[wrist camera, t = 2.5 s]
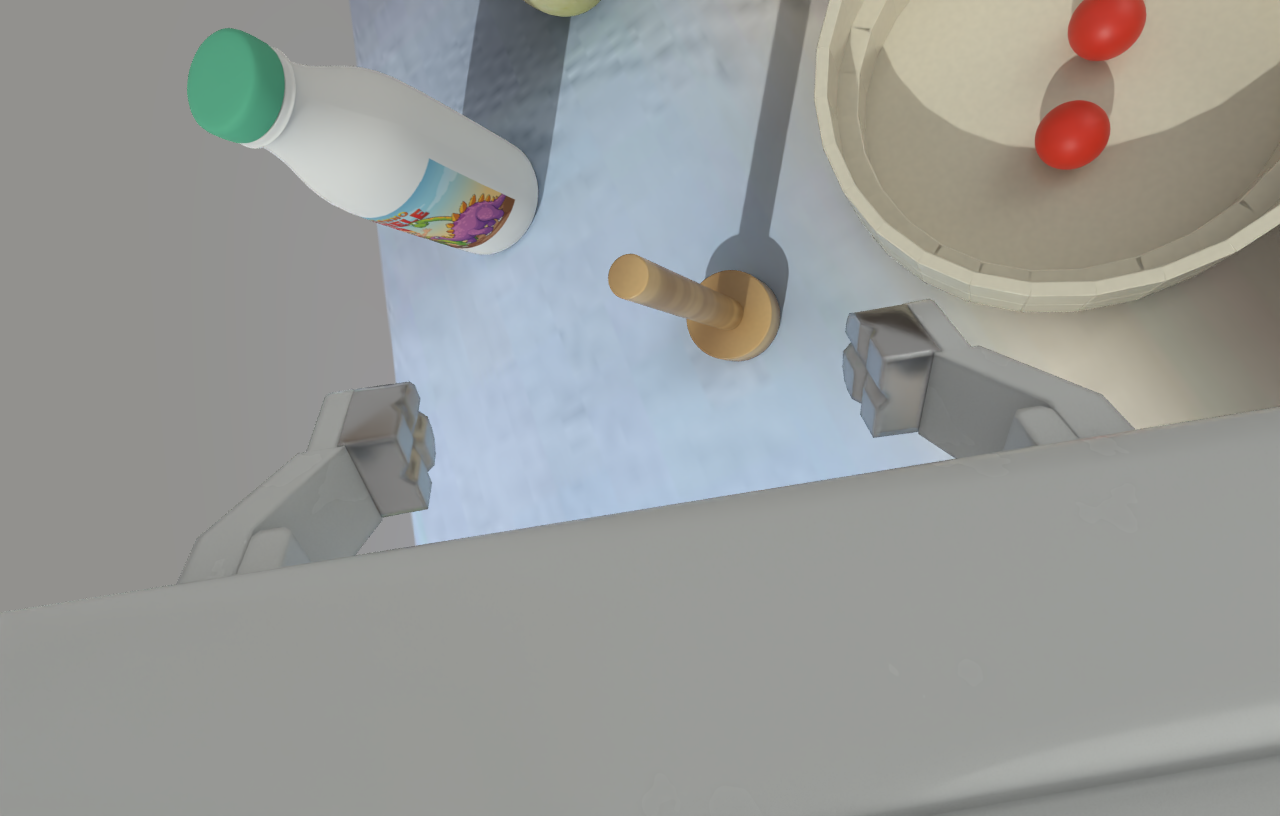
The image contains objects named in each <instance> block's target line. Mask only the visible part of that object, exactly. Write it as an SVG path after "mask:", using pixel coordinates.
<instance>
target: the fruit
mask: <svg viewBox="0 0 1280 816" xmlns="http://www.w3.org/2000/svg"><path fill="white" fill-rule="evenodd" d="M523 1H525V2H526V3H527V4H529V5H530V6H532V7H534V8H536V9H538V10H540V11H542V12H544V13H547V14H550V15H555V16H561V17H569V16H575V15H579V14H582V13H585V12H587V11H589V10H590V9H592V8H593V7H595V6H596V5H597V4H598V3H599V2H600V1H601V0H523Z"/></svg>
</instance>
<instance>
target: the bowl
mask: <svg viewBox="0 0 1280 816" xmlns="http://www.w3.org/2000/svg"><path fill="white" fill-rule="evenodd" d="M1082 1H1083V0H829V3H828V7H827V11H826V15H825V18H824V22H823V26H822V30H821V33H820V37H819V41H818V45H817V49H816V68H815V90H814V102H815V107H816V113H817V118H818V123H819V129H820V134H821V139H822V145H823V148H824V151H825V153H826V155H827V158H828V160H829V162H830V164H831V166H832V169H833V171H834V173H835V175H836V177H837V179H838V182H839V184H840V186H841V188H842V190H843V192H844V194H845V196H846V197H847V199H848V201H849V202H850V204H851V206H852V207H853V209H854V211H855V213H856V214H857V216H858V218H859V219H860V221H861V222H862V224H863V225H864V226H865V227H866V229H867V230H868V231H869V232H870V234H871V235H872V236H873V237H874V238H875V240H876V241H877V242H878V243H879V245H880V246H881V247H882V248H883V250H884V251H885V252H886V253H887V254H888V255H889V256H890V257H891V258H893V259H894V260H895V261H897V262H898V263H899V264H901V265H902V266H903V267H905V268H906V269H907V270H909V271H910V272H911V273H913V274H914V275H915V276H917V277H918V278H919V279H921V280H922V281H923V282H925V283H927V284H929V285H932V286H934V287H936V288H938V289H941V290H943V291H945V292H948V293H950V294H952V295H954V296H957V297H959V298H961V299H964V300H966V301H970V302H972V303H977V304H982V305H987V306H992V307H997V308H1002V309H1007V310H1012V311H1017V312H1021V311H1022V312H1077V311H1078V312H1080V311H1085V310H1090V309H1095V308H1100V307H1105V306H1110V305H1115V304H1120V303H1125V302H1130V301H1135V300H1136V299H1140V298H1143V297H1145V296H1148V295H1150V294H1153V293H1155V292H1158V291H1160V290H1163V289H1165V288H1167V287H1170V286H1172V285H1175V284H1177V283H1180V282H1182V281H1185V280H1187V279H1190V278H1192V277H1194V276H1196V275H1198V274H1200V273H1201V272H1203V271H1205V270H1206V269H1208V268H1210V267H1212V266H1213V265H1215V264H1217V263H1218V262H1220V261H1222V260H1224V259H1225V258H1227V257H1229V256H1230V255H1232V254H1234V253H1236V252H1237V251H1239V250H1240V249H1242V248H1244V247H1245V246H1247V245H1248V244H1250V243H1251V242H1253V241H1254V240H1256V239H1257V238H1259V237H1261V236H1262V235H1264V234H1265V233H1267V232H1268V231H1270V230H1271V229H1273V228H1274V227H1276V226H1277V225H1279V224H1280V0H1143V1H1144V3H1145V7H1146V22H1145V26H1144V28H1143V31H1142V33H1141V35H1140V36H1139V38H1138V39H1137V41H1136V42H1135V43H1134V44H1133V45H1132V46H1131V47H1130V48H1129V49H1128V50H1126V51H1125V52H1124V53H1122V54H1120V55H1119V56H1116V57H1114V58H1112V59H1109V60H1104V61H1090V60H1086V59H1084V58H1082V57H1080V56H1078V55H1077V54H1076V53H1075V52H1074V51H1073V49H1072V48H1071V46H1070V44H1069V40H1068V25H1069V22H1070V19H1071V16H1072V14H1073V13H1074V11H1075V9H1076V8H1077V7H1078V5H1079V4H1080V3H1081V2H1082ZM1074 100H1084V101H1089V102H1092V103H1095V104H1097V105H1098V106H1100V107H1101V108H1102V109H1103V110H1104V111H1105V112H1106V114H1107V116H1108V118H1109V121H1110V128H1111V130H1110V136H1109V140H1108V143H1107V145H1106V147H1105V148H1104V150H1103V151H1102V152H1101V154H1100V155H1099V156H1098V157H1097V158H1095V159H1094V160H1093V161H1091V162H1090V163H1088V164H1086V165H1085V166H1082V167H1080V168H1076V169H1071V170H1061V169H1056V168H1053V167H1051V166H1049V165H1047V164H1046V163H1044V162H1043V161H1042V160H1041V159H1040V157H1039V155H1038V154H1037V151H1036V148H1035V134H1036V130H1037V128H1038V126H1039V124H1040V122H1041V121H1042V119H1043V118H1044V117H1045V116H1046V114H1047V113H1049V112H1050V111H1051V110H1052V109H1054V108H1055V107H1057V106H1058V105H1061V104H1063V103H1066V102H1069V101H1074Z"/></svg>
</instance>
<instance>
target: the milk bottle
mask: <svg viewBox="0 0 1280 816" xmlns="http://www.w3.org/2000/svg"><path fill="white" fill-rule="evenodd" d="M187 94H188V101H189V105H190V109H191V112H192V115H193V117H194V118H195V120H196V122H197V123H198V124H199V125H200V126H201V127H202V128H203V129H205V130H206V131H208V132H209V133H212V134H213V135H216V136H218V137H221V138H223V139H226V140H229V141H233V142H236V143H241V144H242V145H244V146H246V147H248V148H262V147H263V148H265V149H267V150H268V151H270V152H271V153H273V154H274V155H275V156H277V157H278V158H279V159H281V160H282V161H283V162H284V163H285V164H286V165H287V166H288V167H289V168H290V169H291V170H293V172H294V173H295V174H296V175H297V176H298V177H299V178H300V179H301V180H302V181H303V182H304V183H305V184H306V185H307V186H308V187H309V188H310V189H311V190H312V191H314V192H315V193H316V194H318V195H319V196H320V197H322V198H323V199H325V200H326V201H328V202H329V203H331V204H332V205H335V206H336V207H339V208H341V209H343V210H345V211H347V212H349V213H351V214H354V215H357V216H360V217H363V218H365V219H368V220H370V221H373V222H376V223H379V224H382V225H385V226H388V227H391V228H394V229H397V230H401V231H404V232H407V233H410V234H413V235H416V236H419V237H422V238H425V239H429V240H432V241H435V242H438V243H441V244H445V245H448V246H451V247H454V248H457V249H461V250H464V251H467V252H471V253H475V254H480V255H489V254H494V253H498V252H501V251H503V250H505V249H507V248H509V247H511V246H512V245H513V244H515V243H516V242H517V241H518V240H519V239H520V238H521V237H522V236H523V235H524V234H525V232H526V231H527V229H528V228H529V226H530V225H531V222H532V220H533V217H534V215H535V211H536V207H537V203H538V184H537V179H536V175H535V172H534V170H533V167H532V165H531V163H530V161H529V159H528V158H527V157H526V155H525V154H524V153H523V152H522V151H521V150H520V149H519V148H517V147H516V146H514V145H513V144H511V143H510V142H508V141H507V140H505V139H503V138H501V137H500V136H498V135H496V134H495V133H493V132H491V131H489V130H488V129H486V128H484V127H483V126H481V125H479V124H477V123H476V122H474V121H472V120H470V119H469V118H467V117H465V116H463V115H462V114H460V113H458V112H456V111H455V110H453V109H451V108H449V107H448V106H446V105H444V104H442V103H440V102H439V101H437V100H435V99H433V98H432V97H430V96H428V95H426V94H424V93H423V92H421V91H419V90H417V89H415V88H413V87H411V86H409V85H407V84H405V83H403V82H401V81H399V80H397V79H396V78H394V77H391V76H388V75H386V74H383V73H380V72H378V71H374V70H370V69H366V68H361V67H354V66H309V65H303V64H298V63H294V62H291V61H289V59H288V58H287V57H286V55H284V53H282V52H281V51H280V50H279V49H277V48H274V47H271V46H269V45H268V44H266V43H264V42H263V41H261V40H259V39H257V38H256V37H254V36H252V35H250V34H248V33H245V32H243V31H241V30H236V29H232V28H231V29H230V28H225V29H221V30H218V31H216V32H215V33H213V34H212V35H210V36H209V37H208V38H207V39H206V40H205V41H204V42H203V43H202V44H201V46H200V47H199V49H198V51H197V52H196V54H195V56H194V59H193V61H192V64H191V67H190V71H189V76H188V85H187Z"/></svg>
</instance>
